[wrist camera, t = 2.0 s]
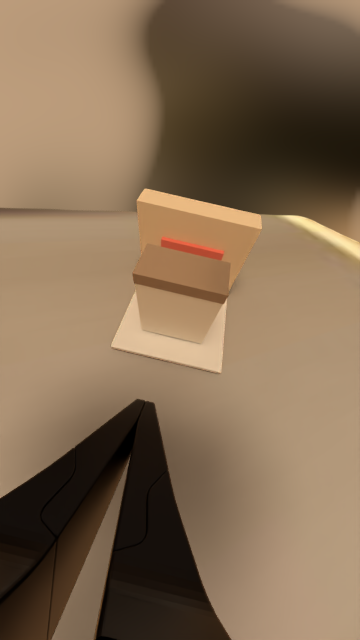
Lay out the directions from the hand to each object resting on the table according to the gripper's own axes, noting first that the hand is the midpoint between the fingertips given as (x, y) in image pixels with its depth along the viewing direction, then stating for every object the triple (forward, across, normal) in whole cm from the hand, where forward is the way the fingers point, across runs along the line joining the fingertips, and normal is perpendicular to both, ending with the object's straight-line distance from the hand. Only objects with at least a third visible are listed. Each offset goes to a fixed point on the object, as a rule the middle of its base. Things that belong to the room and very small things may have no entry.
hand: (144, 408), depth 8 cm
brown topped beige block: (+17, 0, +1) cm, 17 cm away
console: (+19, 0, -1) cm, 19 cm away
